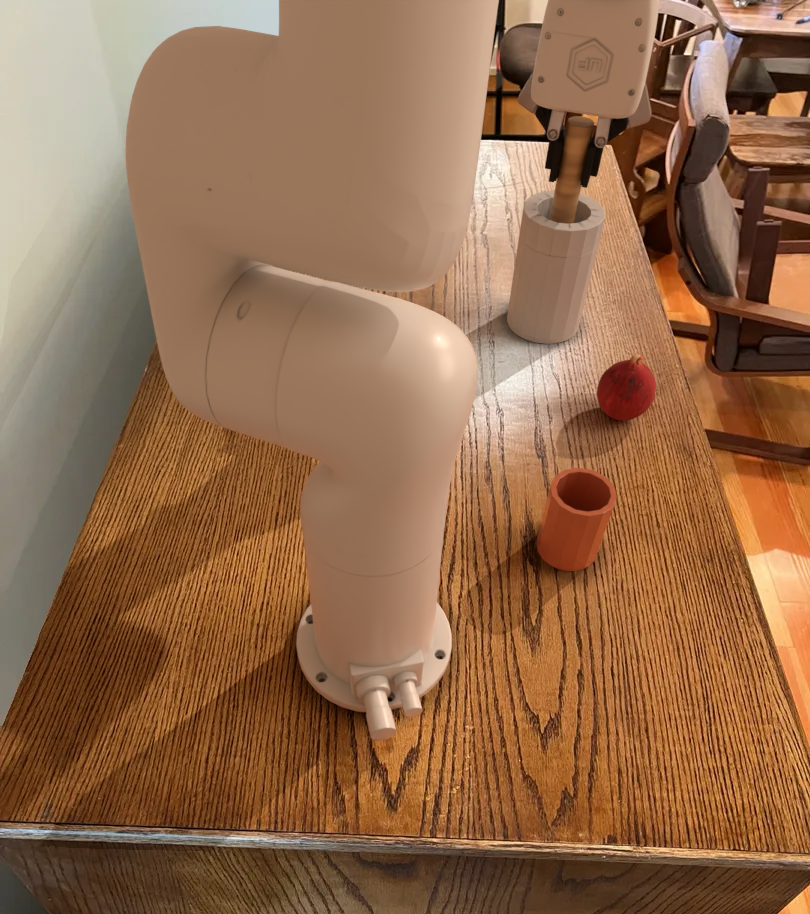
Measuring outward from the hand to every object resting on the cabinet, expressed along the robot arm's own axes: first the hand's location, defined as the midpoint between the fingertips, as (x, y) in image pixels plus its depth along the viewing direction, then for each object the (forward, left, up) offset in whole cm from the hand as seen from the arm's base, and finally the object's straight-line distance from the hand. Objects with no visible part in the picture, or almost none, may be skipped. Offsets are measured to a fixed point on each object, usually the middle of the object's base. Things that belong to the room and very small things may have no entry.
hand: (570, 177), depth 79 cm
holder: (-34, +10, -17) cm, 39 cm away
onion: (-18, -2, -18) cm, 25 cm away
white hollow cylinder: (0, 0, -17) cm, 17 cm away
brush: (0, 0, -13) cm, 13 cm away
